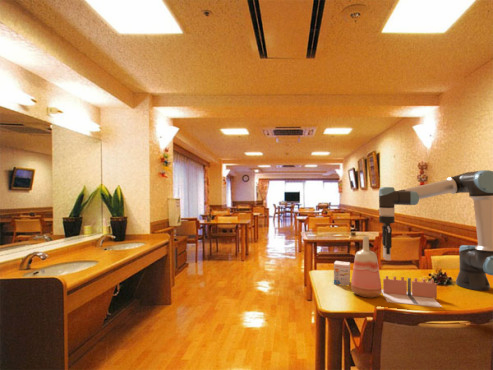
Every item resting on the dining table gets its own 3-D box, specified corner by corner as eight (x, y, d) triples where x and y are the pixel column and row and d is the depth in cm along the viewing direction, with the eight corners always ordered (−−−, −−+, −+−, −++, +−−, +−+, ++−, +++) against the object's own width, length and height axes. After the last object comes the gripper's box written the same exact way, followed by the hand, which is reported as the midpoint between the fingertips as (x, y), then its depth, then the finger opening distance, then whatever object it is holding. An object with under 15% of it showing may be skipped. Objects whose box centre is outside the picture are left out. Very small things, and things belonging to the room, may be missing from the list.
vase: (379, 302, 137) (379, 239, 138) (348, 296, 145) (348, 236, 146) (383, 293, 150) (383, 236, 151) (354, 288, 157) (354, 233, 158)
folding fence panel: (406, 294, 147) (406, 277, 148) (406, 295, 146) (406, 278, 146) (383, 292, 150) (383, 275, 150) (383, 292, 149) (383, 276, 149)
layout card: (429, 294, 149) (429, 293, 149) (442, 307, 131) (442, 306, 131) (380, 290, 155) (380, 289, 155) (387, 301, 138) (387, 300, 138)
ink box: (333, 284, 164) (333, 263, 165) (334, 280, 172) (334, 260, 173) (349, 286, 161) (349, 265, 161) (350, 282, 169) (350, 261, 169)
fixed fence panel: (435, 297, 144) (435, 279, 144) (436, 298, 142) (436, 280, 143) (407, 294, 147) (407, 277, 147) (408, 295, 146) (408, 278, 146)
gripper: (376, 214, 165) (376, 255, 165) (382, 216, 149) (382, 262, 148) (391, 214, 163) (391, 256, 163) (398, 217, 146) (398, 263, 146)
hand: (386, 259), depth 155 cm, fingers open, 4 cm apart
